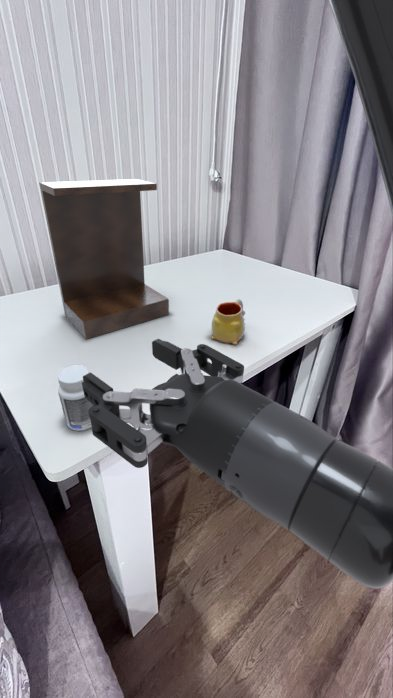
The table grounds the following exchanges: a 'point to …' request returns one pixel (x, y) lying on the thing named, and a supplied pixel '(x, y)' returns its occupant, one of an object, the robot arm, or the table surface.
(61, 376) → the pill bottle
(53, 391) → the table surface
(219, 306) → the mug
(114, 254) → the shelf
